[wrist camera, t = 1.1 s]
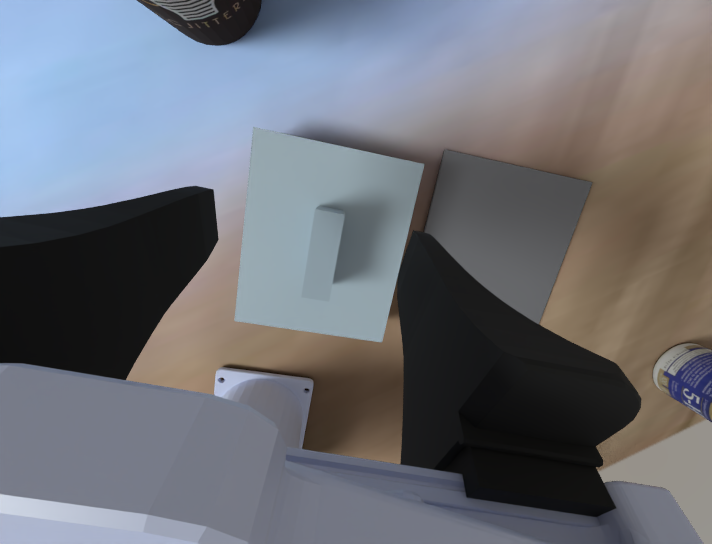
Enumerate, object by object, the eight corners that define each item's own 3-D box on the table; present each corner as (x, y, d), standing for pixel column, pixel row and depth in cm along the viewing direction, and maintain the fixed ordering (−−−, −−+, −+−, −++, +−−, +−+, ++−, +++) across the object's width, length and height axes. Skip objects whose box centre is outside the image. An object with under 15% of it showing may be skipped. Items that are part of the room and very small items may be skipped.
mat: (528, 342, 26) (531, 344, 26) (400, 322, 25) (401, 324, 25) (589, 182, 23) (592, 182, 22) (444, 150, 21) (445, 149, 21)
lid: (380, 338, 22) (389, 367, 19) (237, 317, 21) (216, 344, 17) (421, 164, 19) (441, 159, 15) (256, 128, 18) (235, 113, 14)
